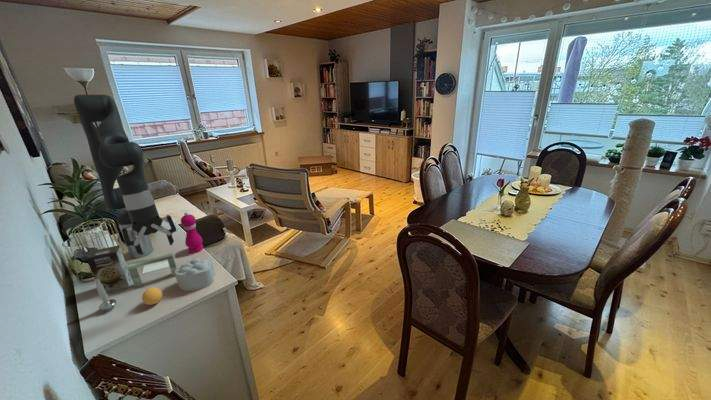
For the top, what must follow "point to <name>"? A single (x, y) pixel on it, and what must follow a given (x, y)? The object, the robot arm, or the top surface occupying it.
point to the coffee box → (109, 268)
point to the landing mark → (156, 266)
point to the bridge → (133, 265)
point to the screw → (104, 297)
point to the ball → (152, 296)
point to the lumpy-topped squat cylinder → (195, 274)
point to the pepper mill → (191, 233)
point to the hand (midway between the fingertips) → (156, 249)
